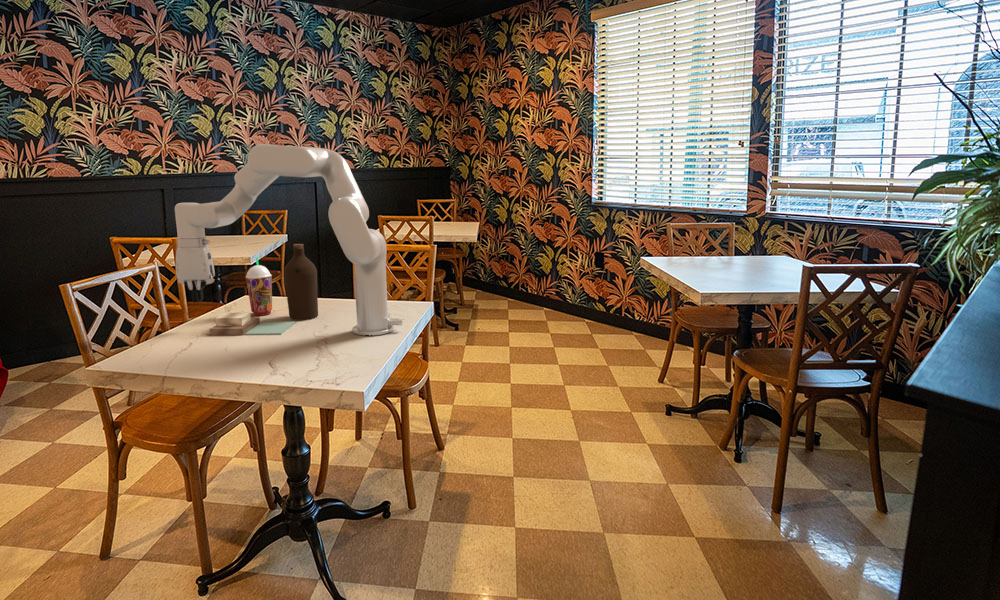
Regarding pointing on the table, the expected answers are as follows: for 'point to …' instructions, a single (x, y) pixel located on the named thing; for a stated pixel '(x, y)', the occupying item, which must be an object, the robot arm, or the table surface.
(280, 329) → the mat
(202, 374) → the table surface
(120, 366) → the table surface
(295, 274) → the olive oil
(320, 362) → the table surface
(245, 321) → the tile
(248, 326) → the deck
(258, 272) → the smoothie
